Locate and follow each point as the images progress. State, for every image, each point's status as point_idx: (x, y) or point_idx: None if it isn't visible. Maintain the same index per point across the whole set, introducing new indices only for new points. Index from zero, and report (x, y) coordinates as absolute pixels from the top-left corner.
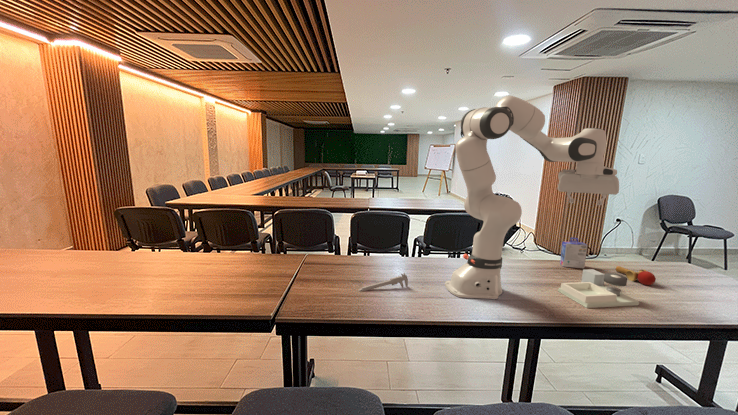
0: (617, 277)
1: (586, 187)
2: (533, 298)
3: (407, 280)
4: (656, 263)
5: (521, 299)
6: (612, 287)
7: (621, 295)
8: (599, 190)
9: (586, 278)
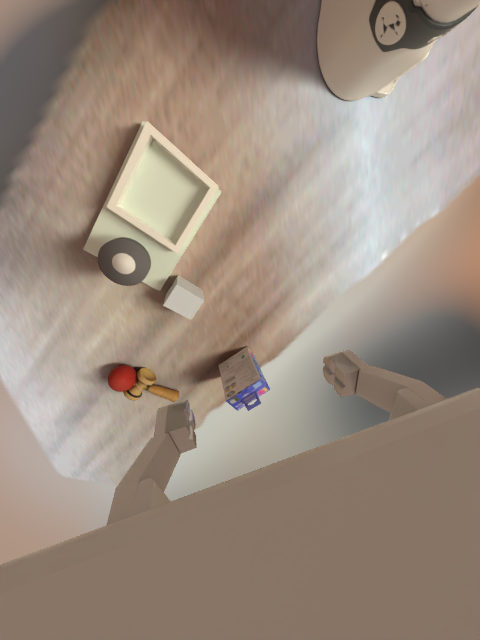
0: (117, 257)
1: (352, 539)
2: (249, 78)
3: None
4: None
5: (270, 36)
6: None
7: None
8: (175, 556)
9: (193, 289)
